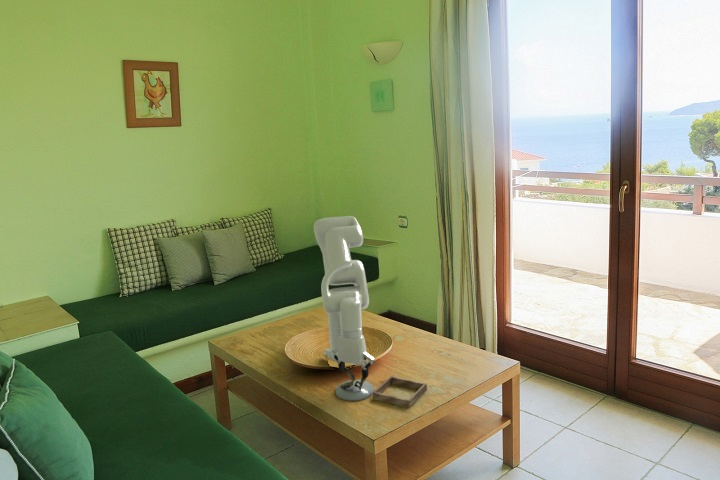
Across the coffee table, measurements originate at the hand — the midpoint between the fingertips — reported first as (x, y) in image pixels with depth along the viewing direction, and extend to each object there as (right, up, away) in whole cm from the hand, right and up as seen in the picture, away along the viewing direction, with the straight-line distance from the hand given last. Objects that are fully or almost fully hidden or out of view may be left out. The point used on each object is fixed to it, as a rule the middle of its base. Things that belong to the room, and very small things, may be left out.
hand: (353, 375), depth 214 cm
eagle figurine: (0, -5, +1) cm, 5 cm away
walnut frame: (+17, -6, -3) cm, 18 cm away
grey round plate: (0, -6, +1) cm, 6 cm away
